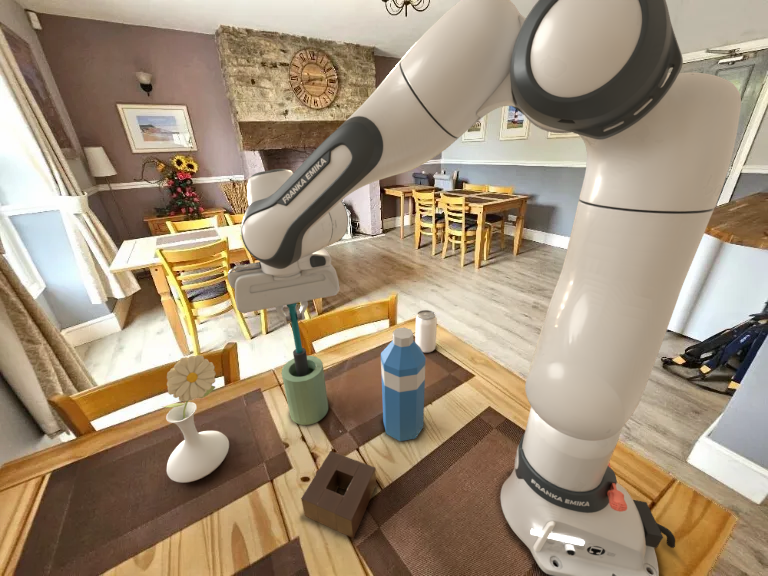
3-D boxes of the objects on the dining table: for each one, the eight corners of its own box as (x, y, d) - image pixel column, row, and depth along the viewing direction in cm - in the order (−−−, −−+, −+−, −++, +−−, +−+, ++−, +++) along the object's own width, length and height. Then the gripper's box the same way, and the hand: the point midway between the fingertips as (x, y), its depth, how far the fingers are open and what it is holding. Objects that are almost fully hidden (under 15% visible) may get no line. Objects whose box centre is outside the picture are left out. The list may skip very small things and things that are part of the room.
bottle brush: (311, 370, 73) (300, 297, 64) (304, 377, 70) (292, 303, 62) (301, 367, 73) (289, 295, 65) (294, 374, 71) (280, 301, 63)
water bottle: (421, 444, 67) (424, 349, 56) (379, 438, 69) (374, 344, 58) (424, 411, 75) (428, 322, 65) (387, 406, 77) (384, 319, 67)
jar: (335, 401, 79) (330, 360, 73) (314, 429, 71) (307, 385, 66) (304, 392, 82) (297, 352, 77) (282, 418, 74) (272, 375, 69)
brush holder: (376, 484, 59) (375, 467, 57) (353, 538, 51) (351, 520, 49) (332, 467, 63) (330, 450, 60) (304, 516, 55) (301, 498, 52)
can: (424, 339, 103) (425, 307, 98) (439, 347, 99) (441, 314, 94) (410, 346, 99) (411, 314, 94) (425, 356, 95) (427, 322, 90)
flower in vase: (169, 500, 58) (118, 398, 47) (168, 454, 66) (125, 359, 56) (243, 463, 64) (213, 366, 54) (233, 425, 73) (205, 336, 62)
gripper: (224, 273, 54) (241, 339, 60) (338, 255, 61) (344, 316, 67) (225, 262, 59) (241, 324, 65) (330, 247, 66) (336, 304, 72)
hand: (294, 320), depth 66 cm, fingers closed on bottle brush
